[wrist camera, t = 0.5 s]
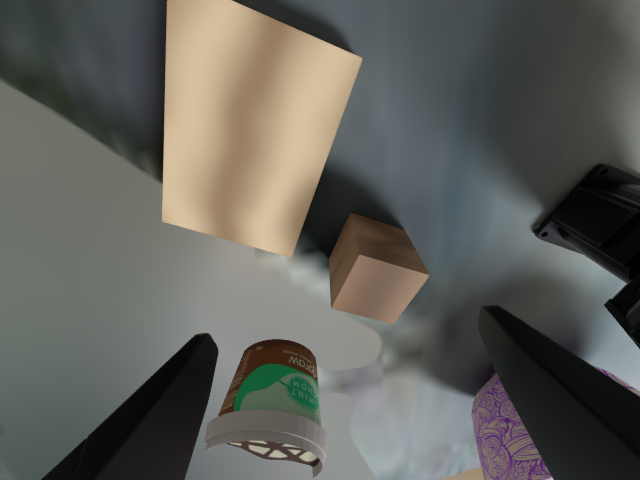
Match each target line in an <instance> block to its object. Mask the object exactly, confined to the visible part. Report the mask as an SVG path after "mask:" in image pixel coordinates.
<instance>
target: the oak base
mask: <svg viewBox="0 0 640 480" xmlns="http://www.w3.org/2000/svg"><path fill="white" fill-rule="evenodd" d="M362 59H363V58H361V57H359V56H356V55H354V54H352V53H350V52H347V51H345V50H343V49H341V48H338V47H336V46H334V45H332V44H329V43H327V42H325V41H322V40H320V39H318V38H316V37H313V36H311V35H309V34H307V33H304V32H302V31H300V30H298V29H295V28H293V27H291V26H289V25H286V24H284V23H282V22H280V21H277V20H275V19H273V18H270V17H268V16H266V15H264V14H261V13H259V12H257V11H255V10H252V9H250V8H248V7H246V6H243V5H241V4H239V3H237V2H234V1H232V0H167V27H166V71H165V116H164V161H163V207H162V222H166V223H170V224H174V225H177V226H180V227H184V228H188V229H191V230H195V231H198V232H202V233H205V234H209V235H213V236H216V237H220V238H223V239H227V240H230V241H234V242H237V243H241V244H245V245H248V246H252V247H255V248H259V249H262V250H266V251H269V252H273V253H277V254H280V255H284V256H287V257H292V254H293V252H294V249H295V246H296V243H297V241H298V238H299V235H300V232H301V229H302V227H303V224H304V221H305V218H306V215H307V213H308V210H309V207H310V204H311V201H312V199H313V196H314V193H315V190H316V188H317V185H318V182H319V179H320V176H321V174H322V171H323V168H324V165H325V162H326V160H327V157H328V154H329V151H330V148H331V146H332V143H333V140H334V137H335V134H336V132H337V129H338V126H339V123H340V121H341V118H342V115H343V112H344V109H345V107H346V104H347V101H348V98H349V95H350V93H351V90H352V87H353V84H354V81H355V79H356V76H357V73H358V70H359V68H360V65H361V62H362Z"/></svg>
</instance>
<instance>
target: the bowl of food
mask: <svg viewBox="0 0 640 480" xmlns="http://www.w3.org/2000/svg"><path fill="white" fill-rule="evenodd" d="M592 366H593V365H592ZM593 367H595V366H593ZM595 368H596V369H598V370H600V371H601V372H603V373H604V374H606V375H607V376H609V377H610V378H612V379H614V380H615V381H617V382H618V383H620V384H621V385H623V386H624V387H626V388H628V389H629V390H631V391H632V392H634V393H635V394H637V395H638V396H640V391H638V390H636V389H635V388H633V387H632V386H630V385H629V384H627V383H626V382H624V381H623V380H621V379H620V378H618V377H616V376H615V375H613V374H611V373H609V372H608V371H605V370H603V369H600V368H598V367H595ZM471 414H472V421H473V427H474V433H475V439H476V444H477V449H478V454H479V458H480V463H481V467H482V471H483V475H484V480H553V478H552V476H551V474H550V472H549V471H548V469H547V467H546V465H545V463H544V461H543V460H542V458H541V456H540V454H539V452H538V450H537V449H536V447H535V445H534V443H533V441H532V439H531V437H530V436H529V434H528V432H527V430H526V428H525V426H524V425H523V423H522V421H521V419H520V417H519V415H518V414H517V412H516V410H515V408H514V406H513V404H512V403H511V401H510V399H509V397H508V395H507V393H506V391H505V390H504V388H503V386H502V384H501V382H500V380H499V378H498V375H497V373H495V374H494V375H493V376H492V378H491V379H490V380H489V381H488V382H487V383H486V384H485V385H484V386H483V387H482V388H481V389H480V390H479V391H478V393H477V395H476V397H475V399H474V401H473V407H472V413H471Z"/></svg>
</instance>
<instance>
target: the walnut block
mask: <svg viewBox="0 0 640 480" xmlns="http://www.w3.org/2000/svg"><path fill="white" fill-rule="evenodd" d="M329 271H330V294H331V308H332V309H336V310H340V311H344V312H348V313H352V314H356V315H360V316H364V317H368V318H372V319H376V320H380V321H384V322H388V323H392V324H394V323H395V321H396V320H397V319H398V317H399V316H400V315H401V313H402V312H403V311H404V309H405V308H406V307H407V305H408V304H409V303H410V301H411V300H412V299H413V297H414V296H415V295H416V293H417V292H418V291H419V289H420V288H421V287H422V285H423V284H424V283H425V281H426V280H427V279H428V277H429V276H430V275H429V273H428V271H427V269H426V267H425V266H424V264H423V262H422V260H421V258H420V257H419V255H418V253H417V251H416V249H415V248H414V246H413V244H412V242H411V240H410V239H409V237H408V235H407V233H406V231H405V230H403V229H400V228H397V227H394V226H391V225H388V224H385V223H382V222H379V221H376V220H373V219H369V218H366V217H363V216H360V215H357V214H354V213H351V212H350V214H349V216H348V218H347V221H346V223H345V225H344V227H343V229H342V232H341V234H340V236H339V238H338V240H337V242H336V245H335V247H334V249H333V251H332V253H331V256H330V258H329Z"/></svg>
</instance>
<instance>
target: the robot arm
mask: <svg viewBox="0 0 640 480" xmlns="http://www.w3.org/2000/svg"><path fill="white" fill-rule="evenodd" d="M601 171H602V172H601ZM600 172H601V173H600ZM543 232H544V233H543ZM542 233H543V234H542ZM535 236H536V237H538V238H539V239H541V240H544V241H547V242H550V243H552V244H555V245H558V246H561V247H564V248H566V249H569V250H572V251H575V252H578V253H581V254H583V255H585V256H586V257H588V258H589V259H591V260H592V261H594V262H595V263H597V264H598V265H600V266H601V267H603V268H605V269H606V270H608V271H609V272H611V273H612V274H614V275H615V276H617V277H618V278H620V279H621V280H623V281H624V282H626V283H627V284H626V285H625V286H624V287H623V288H622V289H621V290H620V291H619V292H618V293H617V294H616V295H615V296H614V297H613V298H612V299H609V300H608V301H607V302H606V303H605V304H604V306H605V307H606V308H607V310H608V311H609V312H610V313H611V314H612V316H613V317H614V318H615V319H616V321H617V322H618V323H619V324H620V325H621V327H622V328H623V329H624V330H625V332H626V333H627V334H628V335H629V336H630V338H631V339H632V340H633V341H634V343H635V344H636V345H637V346H638V347H639V349H640V179H639V178H637V177H635V176H632V175H630V174H628V173H626V172H623V171H621V170H619V169H617V168H614V167H612V166H610V165H606V164H599V165H597V166H596V167H595V168H593V170H592V171H591V172H590V173H589V174H588V175H587V176H586V177H585V178H584V179H583V180H582V181H581V183H580V184H579V185H578V186H577V187H576V188H575V189H574V190H573V191H572V192H571V193H570V194H569V195H568V197H567V198H566V199H565V200H564V201H563V202H562V203H561V204H560V205H559V206H558V207H557V208H556V210H555V211H554V212H553V213H552V214H551V215H550V216H549V217H548V218H547V219H546V220H545V221H544V223H543V224H542V225H541V226H540V227H539V228H538V229H537V230H536V232H535ZM478 330H479V332H480V335H481V337H482V340H483V342H484V344H485V347H486V349H487V352H488V354H489V356H490V359H491V361H492V364H493V366H494V368H495V371H496V373H497V375H498V378H499V380H500V382H501V384H502V386H503V388H504V390H505V391H506V393H507V395H508V397H509V399H510V401H511V403H512V404H513V406H514V408H515V410H516V412H517V414H518V415H519V417H520V419H521V421H522V423H523V425H524V426H525V428H526V430H527V432H528V434H529V436H530V437H531V439H532V441H533V443H534V445H535V447H536V449H537V450H538V452H539V454H540V456H541V458H542V460H543V461H544V463H545V465H546V467H547V469H548V471H549V472H550V474H551V476H552V478H553V480H640V396H638V395H637V394H635V393H634V392H632V391H631V390H629V389H628V388H626V387H624V386H623V385H621V384H620V383H618V382H617V381H615V380H614V379H612V378H610V377H609V376H607V375H606V374H604V373H603V372H601V371H600V370H598V369H596V368H595V367H593V366H592V365H590V364H589V363H587V362H585V361H584V360H582V359H581V358H579V357H578V356H576V355H575V354H573V353H571V352H570V351H568V350H567V349H565V348H564V347H562V346H561V345H559V344H557V343H556V342H554V341H553V340H551V339H550V338H548V337H547V336H545V335H543V334H542V333H540V332H539V331H537V330H536V329H534V328H532V327H531V326H529V325H528V324H526V323H525V322H523V321H522V320H520V319H518V318H517V317H515V316H514V315H512V314H511V313H509V312H508V311H506V310H504V309H503V308H501V307H500V306H497V305H489V306H483V307H482V308H481V311H480V315H479V320H478ZM217 357H218V347H217V345H216V343H215V342H214V340H213V339H212V337H211V335H210V334H208V333H202V334H196V335H195V336H194V337H193V338H191V339H190V340H189V341H188V342H187V343H186V344H185V345H184V346H183V347H182V348H181V349H180V350H179V351H178V352H177V353H176V354H175V355H173V356H172V357H171V358H170V360H168V361H167V362H166V363H165V364H164V365H163V366H162V367H161V368H160V369H159V370H158V371H157V372H155V373H154V374H153V376H151V377H150V378H149V379H148V380H147V381H146V382H145V383H144V384H143V385H142V386H141V387H140V388H139V389H137V390H136V392H134V393H133V394H132V395H131V396H130V397H129V398H128V399H127V400H126V401H125V402H124V403H123V404H122V405H121V406H119V407H118V408H117V409H116V410H115V411H114V412H113V413H112V414H111V415H110V416H109V417H108V418H107V419H106V420H105V421H104V422H102V423H101V424H100V425H99V426H98V427H97V428H96V429H95V430H94V431H93V432H92V433H91V434H90V435H89V436H88V437H87V439H84V440H83V441H82V442H81V443H80V444H79V445H78V446H77V447H76V448H75V449H74V450H73V451H72V452H71V453H70V454H68V455H67V456H66V457H65V458H64V459H63V460H62V461H61V462H60V463H59V464H58V465H56V467H54V468H53V469H52V470H51V471H50V472H49V473H48V474H47V475H46V476H44V477H43V478H42V479H41V480H185V476H186V473H187V470H188V466H189V463H190V460H191V457H192V453H193V450H194V447H195V444H196V440H197V437H198V434H199V430H200V427H201V424H202V420H203V417H204V414H205V411H206V407H207V404H208V400H209V396H210V392H211V387H212V382H213V377H214V372H215V367H216V362H217Z"/></svg>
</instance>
